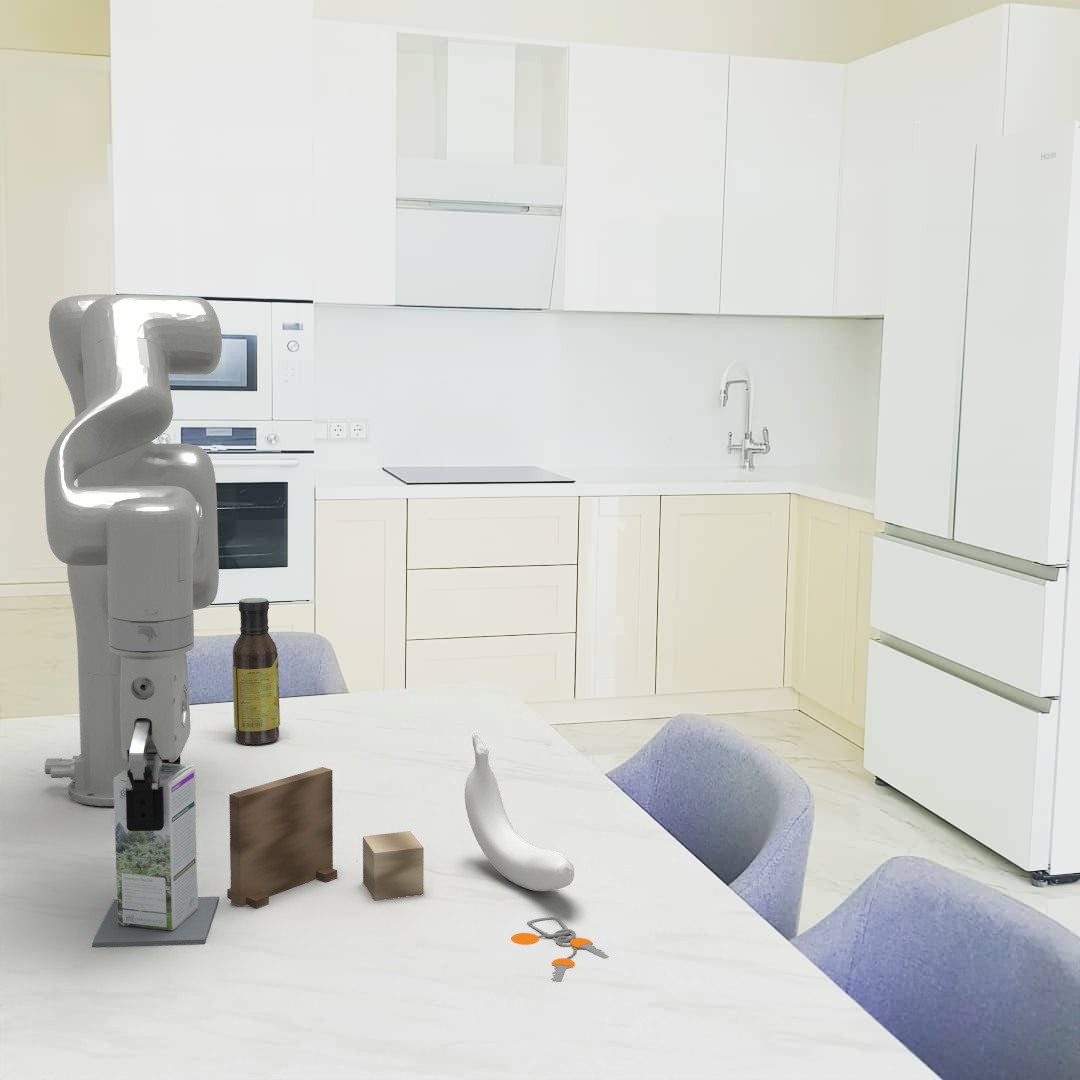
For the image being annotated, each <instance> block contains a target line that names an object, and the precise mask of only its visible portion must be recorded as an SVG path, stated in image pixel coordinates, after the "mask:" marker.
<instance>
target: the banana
mask: <svg viewBox="0 0 1080 1080" xmlns="http://www.w3.org/2000/svg"><path fill="white" fill-rule="evenodd" d="M471 739H472V746H473V750H474V755H475V756H474V757H475V763H474V766H473V768H471V770H470V772H469V774H468V775H467V778H466V781H465V784H464V786H465V787H464V803H465V810H466V814H467V818H468V821H469V824H470V828H471V831H472V833H473V835H474V837H475V839H476V842H477V844H478V846H479V847H480V850H482V852H483V853H484V855H485V857H486V858H487V860H488V861H489V862H490V863H491V865H492V866H493V867H494V868H495V869H496V870H497V871H498V872H499V873H500V874H501V875H502V876H503V877H504V878H506V879H507V880H509V881H510V882H511V883H514V884H515V885H517V886H519V887H522V888H525V889H526V890H530V891H534V892H549V891H554V890H559V889H564V888H566V887H567V886H569V885H571V884H572V882H573V881H574V877H575V868H574V864H573V863H572V861H571V860H570V859H569V858H568V857H566V856H565V855H564V854H562V853H561V852H558V851H555V850H548V849H545V848H544V849H543V848H539V847H537V846H534V845H532V844H531V843H529V842H528V841H526V840H524V839H523V838H522V836H520V834H519V832H518V831H516V829H515V827H514V826H513V825H512V824H513V823H512V822H511V821H510V819H509V816H508V815H507V812H506V809H505V806H504V802H503V799H502V796H501V791H500V789H499V785H498V781H497V778H496V776H495V773H494V771H493V770H492V769H491V767H490V763H489V751H490V750H489V749H488V747H487V745H486V744H485V743H484V741H483V739H482V738H481V736H479V735H478V734H476V733H473V734H472V738H471Z"/></svg>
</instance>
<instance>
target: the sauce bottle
mask: <svg viewBox="0 0 1080 1080" xmlns="http://www.w3.org/2000/svg"><path fill="white" fill-rule="evenodd" d="M269 608H270V602H269V599H267V598H265V597H248V598H241V599H240V600H239V601H238V611H239V613H240V628H239V630H240V635H239V637H238V638H237V639H236V641H235V643H234V645H233V648H232V662H233V663H232V687H233V688H232V689H233V690H232V691H233V692H232V693H233V696H232V697H233V724H234V725H233V726H234V729H235V735H234V736H235V737H234V738H235V741H236V742H237V743H239V744H241V743H242V745H247V744H253V745H254V746H255V744H256V745H261V744H267V743H272V742H274V741H276V740H278V739H279V736H280V725H281V716H280V715H281V713H280V710H281V709H280V683H279V682H280V680H279V678H280V677H279V654H278V649H277V645H276V643H275V642H274V640H273V638H272V637H271V635H270V633H269V618H268V614H269Z"/></svg>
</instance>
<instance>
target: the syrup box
mask: <svg viewBox="0 0 1080 1080" xmlns="http://www.w3.org/2000/svg"><path fill="white" fill-rule="evenodd" d="M153 766H154V765H146V767H150V769H151V770H152V776H153ZM195 768H196V767H195V765H193V764H181V763H180V764H171V763H162V767H161V777H160V787H163V798H164V826H163V828H162V830H160V831H129V830H128V829H127V821H126V782H127V772H128V768H126V769H125V770H123V771H122V772H121V773H120V774H118V775H117V776H116V777H114V780H113V786H114V806H113V808H114V834H115V835H114V836H115V839H114V844H115V872H116V873H115V874H116V899H117V907H118V909H117V912H118V925H123V926H133V927H142V928H152V929H161V930H174V929H175V928H177V927H178V926H179V925H180V924H182V923H183V922H184V921H185V920H186V919H187V918H188V917H189V916H190V915H191V914H192V913H194V912H195V911H196V910H197V909H198V897H199V893H198V891H199V890H198V889H199V888H198V867H197V865H198V864H197V809H196V808H197V798H196V793H197V792H196V788H197V787H196V769H195Z"/></svg>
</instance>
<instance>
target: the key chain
mask: <svg viewBox="0 0 1080 1080" xmlns="http://www.w3.org/2000/svg"><path fill="white" fill-rule="evenodd" d="M549 920H550V921H551V920H553V921H556V922H557V923H558V924H559V926H561V927H562V928H561V929H559V930H556V931H554V933H548V932H545V931H543V930H541V929H540V928H539V927H536V926H535V925H534V923H537V922H543V921H549ZM526 925H527V926H529V927H531V928H533V929H534V930H536V931H537V932H539V933H541V934H542V935H537V934H535V933H531V932H519V933H516V934H513V935H511V937H510V940H511V942H513V943H514V944H517V945H522V946H528V945H529V946H531V945H534V944H536V943H538V942H539V941H540V938H549V939H550V938H552V940H553V941H554V942H555V943H556V944H557V945H558V946H560V947H563V948H571V949H572V950H573V952H572V954H571V955H569V956H567V957H565V958H564V957H561V958H556V959H553V961H552V962H551V966H552V967H554V968H553V970H554V972H552V977H551V979H550V980H551V981H552V982H555V981H556V982H555V983H561V982H563V978H564V975H565V973H566V970H569V969H573V968H574V967H575V966H576V963H575V961H574V960H572V959H573V958H574V957H575V956H576V954H577V952H578V950H585V951H587V952H589V953H590V954H591V953H592V954H593V955H595V956H597V957H599V958H602V959H603V960H605V959H608V958H610V955H608V954H606V953H605V952H604V951H603V950H602V949H600V948H597V947H596V946H595V945H593V944H594V943H593V942H592V940H590V939H588V938H584V937H577V936H576V935H577V933H576V931H575V930H573V929H571V928H568V927H567V925H566V924H565V922H563V920H562V919H561V918H559V917H557V916H547V917H540V918H535V919H531V920H529V921H527V922H526ZM570 934H571V936H568V935H570ZM567 943H568V944H567ZM573 956H574V957H573ZM573 966H574V967H573Z"/></svg>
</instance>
